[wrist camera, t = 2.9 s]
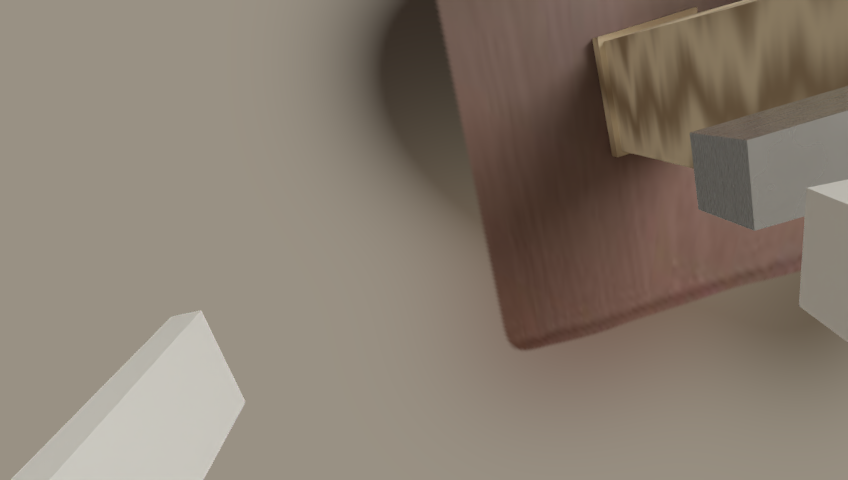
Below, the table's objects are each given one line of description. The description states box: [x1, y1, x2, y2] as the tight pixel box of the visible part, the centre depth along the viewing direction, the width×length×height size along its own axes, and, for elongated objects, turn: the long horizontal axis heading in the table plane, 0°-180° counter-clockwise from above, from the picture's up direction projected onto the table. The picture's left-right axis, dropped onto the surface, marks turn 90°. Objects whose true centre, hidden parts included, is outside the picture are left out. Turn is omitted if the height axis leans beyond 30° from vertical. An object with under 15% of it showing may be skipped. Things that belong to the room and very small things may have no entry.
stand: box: [592, 0, 848, 169], centre depth 32 cm, size 11×9×27 cm
